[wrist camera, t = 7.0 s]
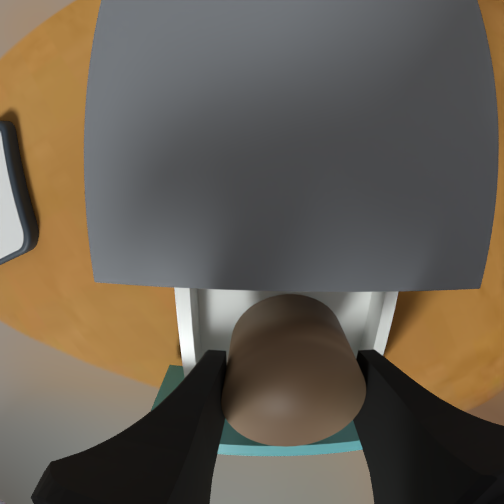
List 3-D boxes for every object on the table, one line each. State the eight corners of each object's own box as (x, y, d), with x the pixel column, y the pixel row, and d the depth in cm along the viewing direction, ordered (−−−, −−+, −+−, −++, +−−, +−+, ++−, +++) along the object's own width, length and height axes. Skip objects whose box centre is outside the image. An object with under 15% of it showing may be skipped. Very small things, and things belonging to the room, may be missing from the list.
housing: (403, 238, 14) (479, 288, 8) (161, 231, 14) (94, 282, 8) (401, 19, 10) (464, -35, 4) (169, 4, 11) (122, -66, 4)
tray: (378, 377, 15) (408, 441, 10) (171, 375, 16) (145, 443, 11) (416, 168, 12) (487, 176, 7) (153, 156, 12) (93, 155, 7)
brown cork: (351, 295, 11) (382, 345, 8) (331, 385, 12) (347, 443, 9) (231, 291, 11) (219, 343, 8) (230, 383, 12) (222, 444, 9)
